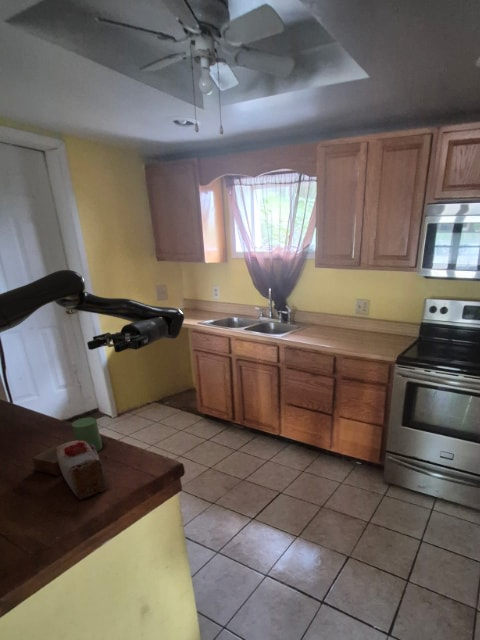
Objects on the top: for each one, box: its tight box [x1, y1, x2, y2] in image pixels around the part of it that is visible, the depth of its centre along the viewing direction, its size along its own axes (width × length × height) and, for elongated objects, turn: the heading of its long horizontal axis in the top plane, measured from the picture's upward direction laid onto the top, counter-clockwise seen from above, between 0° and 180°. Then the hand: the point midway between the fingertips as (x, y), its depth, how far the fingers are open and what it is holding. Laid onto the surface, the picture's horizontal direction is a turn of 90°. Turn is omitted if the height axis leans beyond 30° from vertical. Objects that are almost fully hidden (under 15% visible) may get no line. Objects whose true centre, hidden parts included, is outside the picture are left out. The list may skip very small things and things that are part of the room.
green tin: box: [71, 417, 103, 452], centre depth 97 cm, size 6×6×8 cm
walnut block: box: [31, 443, 62, 476], centre depth 91 cm, size 7×7×4 cm
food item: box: [56, 440, 108, 500], centre depth 84 cm, size 14×8×10 cm, turn 44°
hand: (102, 347), depth 99 cm, fingers open, 8 cm apart
